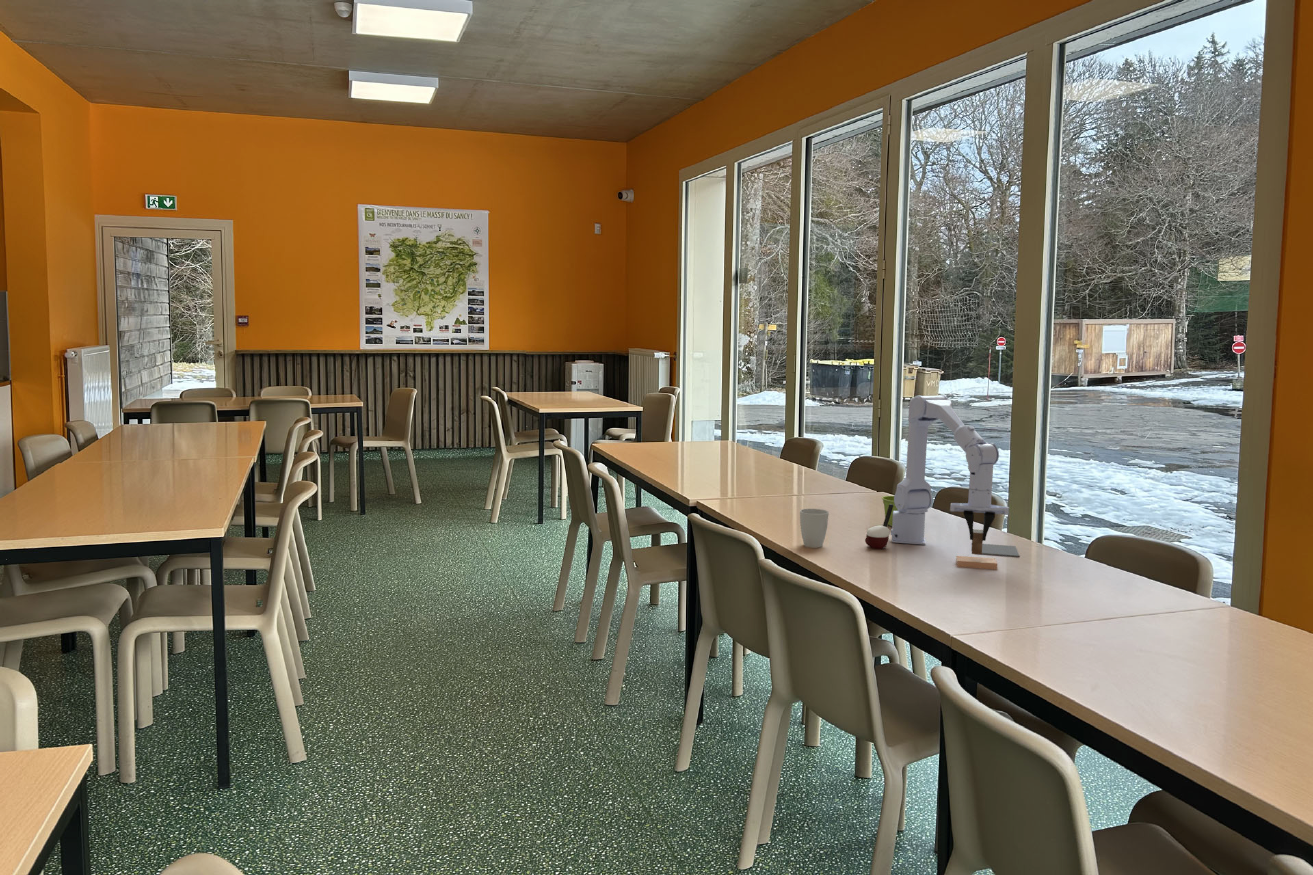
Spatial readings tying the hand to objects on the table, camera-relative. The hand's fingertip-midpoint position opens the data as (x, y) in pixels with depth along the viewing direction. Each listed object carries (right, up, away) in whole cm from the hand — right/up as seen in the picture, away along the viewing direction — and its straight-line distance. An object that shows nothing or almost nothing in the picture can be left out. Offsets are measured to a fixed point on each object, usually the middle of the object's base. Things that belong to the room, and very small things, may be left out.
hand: (977, 539), depth 251 cm
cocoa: (-22, -5, +19) cm, 30 cm away
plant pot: (-9, -1, +50) cm, 51 cm away
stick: (0, -4, +2) cm, 4 cm away
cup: (-40, -4, +20) cm, 45 cm away
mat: (+11, -5, +17) cm, 21 cm away
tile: (+1, -6, +4) cm, 7 cm away
